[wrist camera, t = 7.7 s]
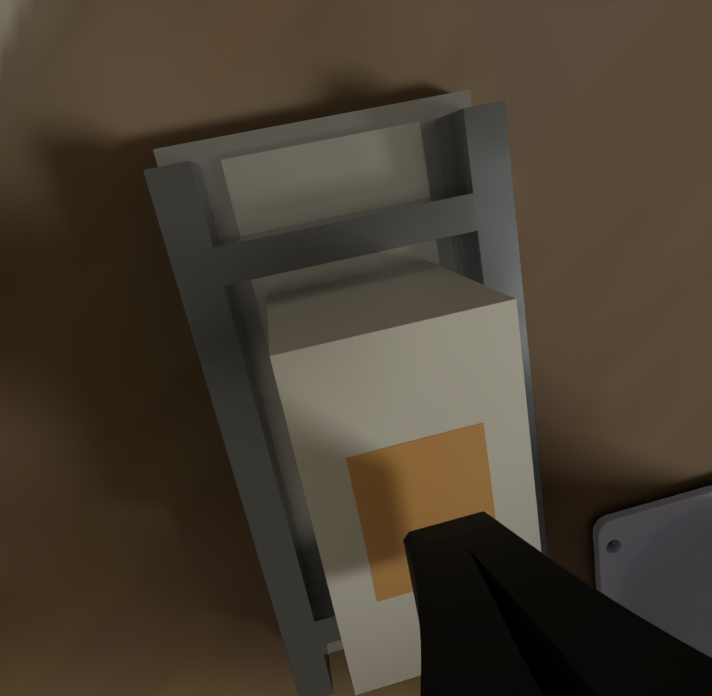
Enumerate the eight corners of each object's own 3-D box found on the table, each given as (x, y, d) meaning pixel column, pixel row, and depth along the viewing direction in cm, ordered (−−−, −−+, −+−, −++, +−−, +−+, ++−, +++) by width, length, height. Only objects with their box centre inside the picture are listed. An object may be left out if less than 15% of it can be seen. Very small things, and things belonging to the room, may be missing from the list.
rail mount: (515, 578, 18) (555, 639, 16) (299, 640, 17) (305, 716, 15) (457, 95, 13) (502, 74, 11) (159, 151, 13) (135, 142, 10)
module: (461, 499, 15) (549, 636, 11) (325, 536, 15) (355, 695, 10) (425, 259, 13) (517, 299, 9) (266, 295, 13) (269, 356, 8)
